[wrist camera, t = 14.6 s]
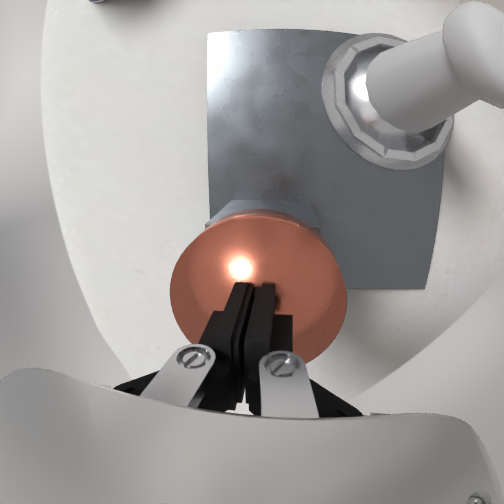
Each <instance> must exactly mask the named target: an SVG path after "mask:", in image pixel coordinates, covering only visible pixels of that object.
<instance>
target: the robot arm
mask: <svg viewBox="0 0 504 504" xmlns="http://www.w3.org/2000/svg"><path fill="white" fill-rule="evenodd" d="M275 291H276V284H269V283H262V287H259V286H257V289H256V293H255V298H254V287H253V286H249V283H247V282H235V283H234V286H233V288H232V291H231V293H230V296H229V298H228V301H227V303H226V306H225V308H224V311H216V310H214V311H213V312H212V314H211V317H210V319H209V321H208V323H207V325H206V327H205V330H204V332H203V334H202V336H201V338H200V340H199V343H198V344H189V345H185V346H183V347H181V348H179V349H177V350H176V351H175V352H174V353H173V355H172V356H171V357H170V358H169V360H168V361H167V362H166V363H165V365H164V366H163V367H162V368H161V370H159V371H157V372H154V373H151V374H149V375H146V376H143V377H140V378H137V379H134V380H132V381H129V382H126V383H123V384H120V385H118V386H116V387H115V388H113V389H111V387H110V386H104V385H97V384H94V383H91V382H88V381H85V380H82V379H79V378H76V377H72V376H69V375H66V374H63V373H60V372H56V371H52V370H48V369H42V368H20V369H16V370H14V371H12V372H10V373H9V374H8V375H6V376H5V377H4V378H3V379H2V380H0V504H504V497H503V494H502V490H501V486H500V483H499V479H498V477H497V474H496V471H495V469H494V466H493V463H492V461H491V458H490V456H489V454H488V452H487V450H486V448H485V446H484V444H483V442H482V441H481V439H480V437H479V436H478V435H477V433H476V431H475V430H474V429H473V428H472V427H471V426H470V425H469V424H468V423H466V422H465V421H463V420H461V419H458V418H455V417H451V416H446V415H439V414H427V413H407V414H406V413H404V414H378V413H370V416H366V415H362V413H361V412H360V411H359V410H358V409H356V408H355V407H353V406H351V405H350V404H348V403H347V402H345V401H344V400H342V399H340V398H339V397H337V396H336V395H334V394H333V393H331V392H330V391H328V390H326V389H325V388H323V387H322V386H320V385H319V384H317V383H316V382H314V381H313V380H311V379H310V378H309V376H308V372H307V369H306V365H305V362H304V360H303V359H302V358H301V357H300V356H299V355H297V354H295V353H293V315H285V314H275ZM244 391H245V393H246V403H247V404H249V411H250V412H251V413H252V414H254V415H246V414H236V413H227V412H225V411H227V410H235V409H236V404H237V403H242V400H243V395H244Z"/></svg>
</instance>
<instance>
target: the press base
mask: <svg viewBox="0 0 504 504" xmlns="http://www.w3.org/2000/svg"><path fill="white" fill-rule="evenodd" d="M404 43H407V41H406V40H403V39H401V38H398V37H395V36H392V35H387V34H381V33H370V34H363V35H356V34H349V33H341V32H332V31H320V30H304V29H256V30H239V31H228V32H218V33H210V34H208V60H207V138H208V178H209V204H210V221H208V222H207V223H206V224H205V229H206V228H207V227H208V226H209V225H211V224H212V223H214V222H215V221H217V220H218V219H220V218H222V217H224V216H226V215H228V214H231V213H234V212H237V211H242V210H248V209H270V210H276V211H280V212H284V213H287V214H290V215H292V216H295V217H297V218H299V219H300V220H302V221H304V222H306V223H307V224H308V225H310V226H311V227H313V228H314V229H315V230H316V231H317V232H318V233H319V234H320V235H321V236H322V237H323V239H324V240H325V241H326V242H327V244H328V245H329V247H330V249H331V250H332V252H333V254H334V257H335V259H336V262H337V264H338V267H339V269H340V272H341V274H342V277H343V279H344V283H345V288H346V289H425V285H426V281H427V277H428V272H429V268H430V263H431V258H432V253H433V248H434V243H435V237H436V231H437V224H438V217H439V209H440V201H441V191H442V179H443V161H444V148H445V146H446V145H447V143H448V141H449V139H450V136H451V133H452V129H453V123H454V115H452V116H450V117H449V118H447V119H445V120H444V121H442V122H441V123H439V124H437V125H436V126H434V127H432V128H430V129H427V130H424V131H422V132H419V133H415V132H410V131H406V130H401V129H397V128H395V127H394V126H392V125H391V124H389V123H388V122H386V121H385V120H383V119H382V118H381V117H380V116H379V114H378V113H377V111H376V110H375V109H374V107H373V106H372V104H371V103H370V102H369V98H368V94H367V90H366V86H365V79H366V75H367V70H368V66H369V64H370V63H371V62H372V61H373V60H374V59H375V58H376V57H377V56H378V55H379V54H380V53H381V52H384V51H386V50H389V49H391V48H394V47H396V46H399V45H402V44H404Z"/></svg>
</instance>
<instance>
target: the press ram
mask: <svg viewBox="0 0 504 504" xmlns="http://www.w3.org/2000/svg"><path fill="white" fill-rule="evenodd" d="M235 282H247V283H249V286H253V287H254V298H255V293H256V289H257V286H259V287H262V283H269V284H276V291H275V314H285V315H293V353H295V354H297V355H299V356H300V357H301V358H302V359H303V360H304V362H305V364H306V363H308V362H309V361H311V360H313V359H314V358H316V357H317V356H319V355H320V354H321V353H322V352H323V351H324V350H325V349H327V348H328V347H329V345H330V344H331V343H332V342H333V340H334V339H335V338H336V336H337V334H338V333H339V331H340V329H341V326H342V324H343V321H344V317H345V314H346V306H347V295H346V288H345V283H344V279H343V277H342V274H341V272H340V269H339V267H338V264H337V262H336V259H335V257H334V254H333V252H332V250H331V249H330V247H329V245H328V244H327V242H326V241H325V240H324V239H323V237H322V236H321V235H320V234H319V233H318V232H317V231H316V230H315V229H314V228H313V227H311V226H310V225H308V224H307V223H306V222H304V221H302V220H300V219H299V218H297V217H295V216H292V215H290V214H287V213H284V212H280V211H276V210H270V209H248V210H242V211H237V212H234V213H231V214H228V215H226V216H224V217H222V218H220V219H218V220H217V221H215V222H214V223H212V224H211V225H209V226H208V227H207V228H206V229H205V230H204V231H203V232H202V233H201V234H200V235H199V236H198V237H197V238H196V239H195V240H194V241H193V242H192V243H191V244H190V245H189V246H188V247H187V248H186V249H185V251H184V252H183V253H182V254H181V256H180V258H179V260H178V261H177V263H176V265H175V268H174V271H173V273H172V278H171V283H170V300H171V306H172V310H173V314H174V316H175V319H176V321H177V323H178V325H179V327H180V329H181V331H182V332H183V333H184V335H185V336H186V338H187V339H188V340H189V341H190V342H191V343H192V344H198V343H199V340H200V338H201V336H202V334H203V332H204V330H205V327H206V325H207V323H208V321H209V319H210V317H211V314H212V312H213V311H214V310H216V311H224V308H225V306H226V303H227V301H228V298H229V296H230V293H231V291H232V288H233V286H234V283H235Z"/></svg>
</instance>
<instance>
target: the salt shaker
mask: <svg viewBox="0 0 504 504" xmlns="http://www.w3.org/2000/svg"><path fill="white" fill-rule="evenodd" d="M365 86H366V90H367V94H368V98H369V102H370V103H371V104H372V106H373V107H374V109H375V110H376V111H377V113H378V114H379V116H380V117H381V118H382V119H383V120H385V121H386V122H388V123H389V124H391V125H392V126H394V127H395V128H397V129H401V130H406V131H410V132H415V133H419V132H422V131H424V130H427V129H430V128H432V127H434V126H436V125H437V124H439V123H441V122H442V121H444V120H445V119H447V118H449V117H450V116H452V115H454V114H455V113H457V112H459V111H460V110H462V109H464V108H465V107H467V106H469V105H470V104H472V103H474V102H475V101H477V100H479V99H481V100H483V101H485V102H487V103H490V104H492V105H494V106H496V107H498V108H503V109H504V13H503V12H501V11H500V10H498V9H496V8H495V7H493V6H491V5H489V4H487V3H486V2H478V1H468V2H465V3H462V4H460V5H459V6H458V7H456V8H455V9H454V10H453V11H452V12H451V13H450V14H449V16H448V17H447V18H446V19H445V20H444V23H443V31H440V32H436V33H433V34H430V35H427V36H424V37H421V38H418V39H415V40H412V41H410V42H407V43H404V44H402V45H399V46H396V47H394V48H391V49H389V50H386V51H384V52H381V53H380V54H379V55H378V56H377V57H376V58H375V59H374V60H373V61H372V62H371V63H370V64H369V66H368V70H367V75H366V79H365Z"/></svg>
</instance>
